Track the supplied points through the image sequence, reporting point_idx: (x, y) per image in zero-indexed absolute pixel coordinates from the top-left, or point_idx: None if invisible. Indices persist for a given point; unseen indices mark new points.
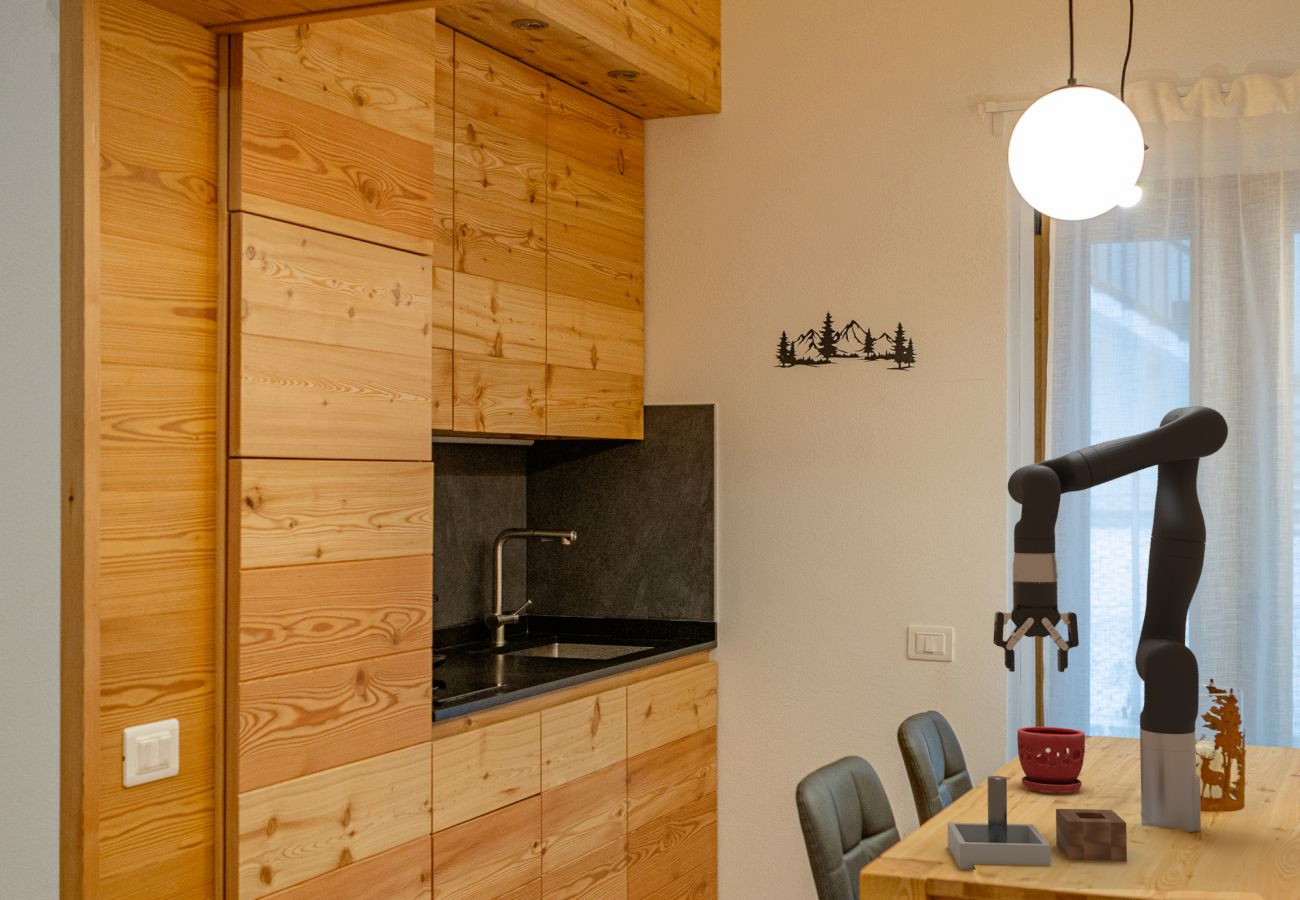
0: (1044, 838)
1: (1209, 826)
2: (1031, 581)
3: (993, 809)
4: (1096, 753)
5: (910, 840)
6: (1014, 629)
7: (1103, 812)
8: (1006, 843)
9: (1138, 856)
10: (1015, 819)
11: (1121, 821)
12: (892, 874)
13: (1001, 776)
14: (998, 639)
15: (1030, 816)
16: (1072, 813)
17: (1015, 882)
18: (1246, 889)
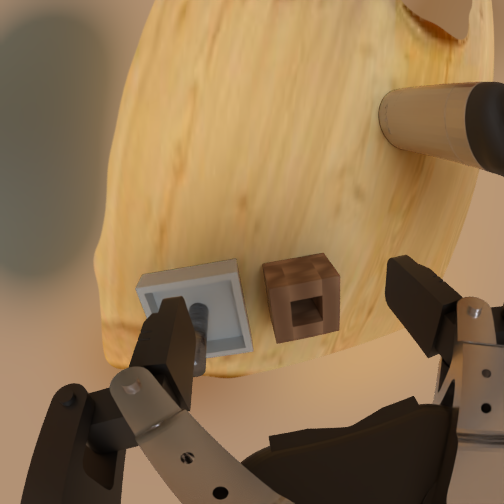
0: (248, 329)
1: None
2: None
3: None
4: None
5: (100, 257)
6: (165, 480)
7: (326, 292)
8: (209, 353)
9: (346, 259)
10: (216, 103)
11: (335, 327)
12: (123, 364)
13: (197, 361)
14: (102, 460)
15: (238, 79)
16: (287, 308)
17: (220, 367)
18: (395, 331)
